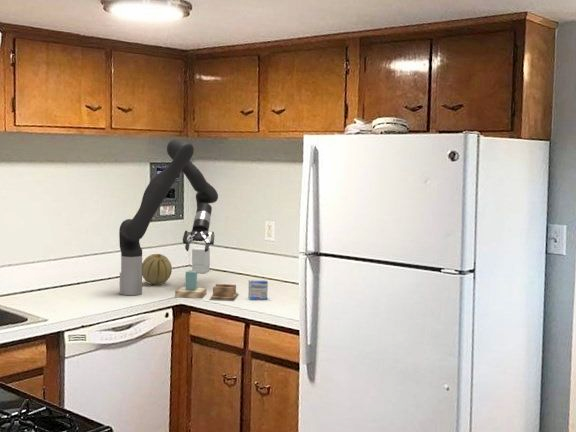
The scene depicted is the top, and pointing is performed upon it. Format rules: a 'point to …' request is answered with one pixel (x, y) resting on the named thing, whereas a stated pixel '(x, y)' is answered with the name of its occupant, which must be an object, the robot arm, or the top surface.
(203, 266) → the supplement box
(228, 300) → the mat
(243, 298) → the top surface
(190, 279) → the teal block
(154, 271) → the cantaloupe
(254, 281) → the medicine box
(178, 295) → the light wooden block
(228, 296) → the brown wooden box
